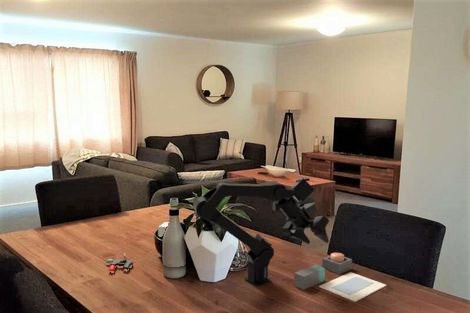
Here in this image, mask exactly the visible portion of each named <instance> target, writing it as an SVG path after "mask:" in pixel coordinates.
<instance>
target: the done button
mask: <svg viewBox="0 0 470 313" xmlns="http://www.w3.org/2000/svg"><path fill="white" fill-rule="evenodd" d="M330 256H331V260H332V261H335V262H338V263H340V262H343V261H344V257H345V254H343V253H341V252H332V253H330Z"/></svg>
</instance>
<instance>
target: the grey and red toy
mask: <svg viewBox="0 0 470 313" xmlns="http://www.w3.org/2000/svg"><path fill="white" fill-rule="evenodd" d="M105 262H106V263H110V266H109V268H108V272H109V271H114V270H115V271H116V269H115V266H116V265H119V266H123V269H127V270H128V269H129V267H130V266H131V265H133V266H134V261H133V260H131V259H129V260H128V259H127V258H126V252H124V253H123V258H122V259H119V258H118V259H117V258H116V259H113V258H108V259H107V260H106V261H105ZM123 269H122V270H123Z"/></svg>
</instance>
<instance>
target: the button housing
mask: <svg viewBox="0 0 470 313" xmlns="http://www.w3.org/2000/svg"><path fill="white" fill-rule="evenodd" d="M321 263H322V265H321V267H323V268H325V270H327V271H330V272H333V273H335V274H338V275H340V274H343V273H345V272H348V271H350V270H353V269H354V268H353V266H352V265H353V259H352V258H349V257H346V256H344V261H343V262H340V263H338V262H335V261H332V260H331V255H328V256H325V257H323V258H322V262H321Z"/></svg>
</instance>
